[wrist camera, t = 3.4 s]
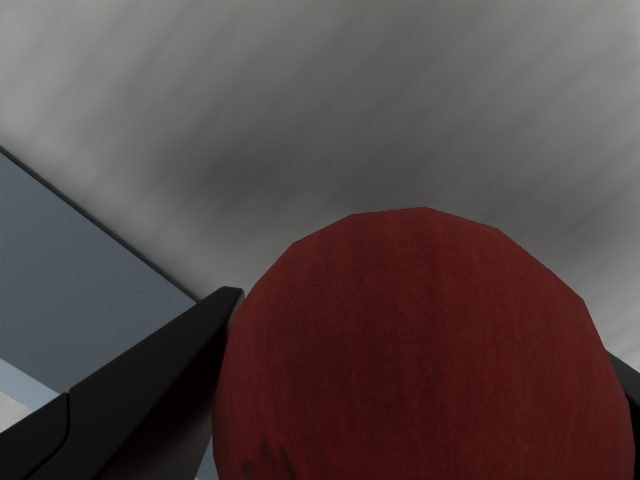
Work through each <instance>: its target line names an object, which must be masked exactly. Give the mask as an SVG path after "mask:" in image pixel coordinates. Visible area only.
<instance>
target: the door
mask: <svg viewBox="0 0 640 480" xmlns="http://www.w3.org/2000/svg"><path fill="white" fill-rule="evenodd" d="M195 304H197V303H196V302H195V301H194V300H192V299H191V298H190V297H188V296H187V295H186V294H184V293H183V292H182V291H181V290H179V289H178V288H177V287H175V286H174V285H173V284H171V283H170V282H169V281H167V280H166V279H165V278H164V277H162V276H161V275H160V274H158V273H157V272H156V271H154V270H153V269H152V268H150V267H149V266H148V265H147V264H145V263H144V262H143V261H141V260H140V259H139V258H137V257H136V256H135V255H133V254H132V253H131V252H129V251H128V250H127V249H126V248H124V247H123V246H122V245H120V244H119V243H118V242H116V241H115V240H114V239H112V238H111V237H110V236H109V235H107V234H106V233H105V232H103V231H102V230H101V229H99V228H98V227H97V226H95V225H94V224H93V223H92V222H90V221H89V220H88V219H86V218H85V217H84V216H82V215H81V214H80V213H78V212H77V211H76V210H75V209H73V208H72V207H71V206H69V205H68V204H67V203H65V202H64V201H63V200H61V199H60V198H59V197H58V196H56V195H55V194H54V193H52V192H51V191H50V190H48V189H47V188H46V187H44V186H43V185H42V184H41V183H39V182H38V181H37V180H35V179H34V178H33V177H31V176H30V175H29V174H27V173H26V172H25V171H24V170H22V169H21V168H20V167H18V166H17V165H16V164H14V163H13V162H12V161H10V160H9V159H8V158H7V157H5V156H4V155H3V154H1V153H0V391H1V392H2V393H4V394H6V395H7V396H9V397H11V398H13V399H14V400H16V401H18V402H19V403H21V404H23V405H25V406H26V407H28V408H30V409H31V410H33V411H36V410H37V409H39V408H41V407H42V406H44V405H45V404H47V403H48V402H50V401H51V400H53V399H54V398H56V397H57V396H59V395H60V394H62V393H63V392H67V393H68V390H69V389H70V388H71V387H72V386H74V385H75V384H77V383H78V382H80V381H81V380H83V379H84V378H86V377H87V376H89V375H90V374H92V373H93V372H95V371H96V370H98V369H99V368H101V367H102V366H104V365H105V364H107V363H108V362H110V361H111V360H113V359H114V358H116V357H117V356H119V355H120V354H122V353H123V352H125V351H126V350H128V349H129V348H131V347H132V346H134V345H135V344H137V343H138V342H140V341H141V340H143V339H144V338H146V337H147V336H149V335H150V334H152V333H153V332H155V331H156V330H158V329H159V328H161V327H162V326H164V325H165V324H167V323H168V322H170V321H171V320H173V319H174V318H176V317H177V316H179V315H180V314H182V313H183V312H185V311H186V310H188V309H189V308H191V307H192V306H194V305H195ZM195 480H219V477H218V473H217V469H216V466H215V462H214V458H213V444H212V436H211V439H210V442H209V444H208V447H207V449H206V452H205V454H204V457H203V459H202V462H201V465H200V467H199V470H198V472H197V475H196V477H195Z"/></svg>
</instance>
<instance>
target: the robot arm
mask: <svg viewBox="0 0 640 480" xmlns="http://www.w3.org/2000/svg"><path fill="white" fill-rule="evenodd" d="M244 300H245V293H244V290H243V289H241V288H235V287H228V286H223V287H221V288H219V289H217V290H216V291H214V292H213V293H212V294H210V295H209V296H207V297H206V298H204V299H203V300H201V301H200V302H198V303H197V304H195V305H194V306H192V307H191V308H189V309H188V310H186V311H185V312H183V313H182V314H180V315H179V316H177V317H176V318H174V319H173V320H171V321H170V322H168V323H167V324H165V325H164V326H162V327H161V328H159V329H158V330H156V331H155V332H153V333H152V334H150V335H149V336H147V337H146V338H144V339H143V340H141V341H140V342H138V343H137V344H135V345H134V346H132V347H131V348H129V349H128V350H126V351H125V352H123V353H122V354H120V355H119V356H117V357H116V358H114V359H113V360H111V361H110V362H108V363H107V364H105V365H104V366H102V367H101V368H99V369H98V370H96V371H95V372H93V373H92V374H90V375H89V376H87V377H86V378H84V379H83V380H81V381H80V382H78V383H77V384H75V385H74V386H72V387H71V388H70V389H69V390H68V393H67V392H63V393H62V394H60V395H59V396H57V397H56V398H54V399H53V400H51V401H50V402H48V403H47V404H45V405H44V406H42V407H41V408H39V409H37V410H36V411H34V412H33V413H31V414H30V415H28V416H27V417H25V418H23V419H22V420H20V421H19V422H17V423H16V424H14V425H12V426H11V427H9V428H8V429H6V430H5V431H3V432H1V433H0V480H195V477H196V475H197V472H198V470H199V467H200V465H201V462H202V459H203V457H204V454H205V452H206V449H207V447H208V444H209V442H210V439H211V436H212V416H211V411H212V406H213V402H214V397H215V393H216V388H217V383H218V379H219V374H220V370H221V366H222V361H223V357H224V353H225V349H226V345H227V341H228V337H229V333H230V329H231V325H232V321H233V317H234V315H235V313H236V312H237V310H238V309H239V307H240V306H241V304H242V303H243V301H244ZM606 353H607V355H608V357H609V359H610V362H611V364H612V366H613V369H614V371H615V373H616V375H617V378H618V380H619V382H620V385H621V387H622V389H623V391H624V394H625V396H626V398H627V400H628V403H629V409H630V416H631V423H632V430H633V437H634V444H635V463H634V476H633V480H640V373H639V372H637V371H636V370H635V369H633V368H632V367H630V366H629V365H627V364H626V363H624V362H623V361H621V360H620V359H618V358H617V357H615V356H614V355H612V354H611V353H610V352H608V351H607V350H606Z"/></svg>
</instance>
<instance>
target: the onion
mask: <svg viewBox="0 0 640 480" xmlns="http://www.w3.org/2000/svg"><path fill="white" fill-rule="evenodd" d="M211 416H212V444H213V458H214V462H215V466H216V469H217V473H218V477H219V480H633V476H634V463H635V444H634V437H633V430H632V423H631V416H630V409H629V403H628V400H627V398H626V396H625V394H624V391H623V389H622V387H621V385H620V382H619V380H618V378H617V375H616V373H615V371H614V369H613V366H612V364H611V362H610V359H609V357H608V355H607V353H606V350H605V348H604V346H603V344H602V341H601V339H600V337H599V334H598V332H597V330H596V328H595V325H594V323H593V321H592V319H591V316H590V314H589V312H588V309H587V307H586V305H585V303H584V300H583V299H582V298H581V297H580V296H579V295H577V294H576V293H575V292H574V291H573V290H572V289H571V288H570V287H568V286H567V285H566V284H565V283H564V282H563V281H562V280H561V279H559V278H558V277H557V276H556V275H555V274H554V273H553V272H552V271H550V270H549V269H548V268H547V267H545V266H544V265H543V264H542V263H540V262H539V261H538V260H537V259H535V258H534V257H533V256H532V255H530V254H529V253H528V252H527V251H525V250H524V249H523V248H521V247H520V246H519V245H518V244H516V243H515V242H514V241H513V240H511V239H510V238H509V237H508V236H506V235H505V234H504V233H503V232H501V231H500V230H499V229H497V228H494V227H491V226H487V225H484V224H481V223H477V222H474V221H471V220H467V219H464V218H461V217H457V216H454V215H451V214H448V213H444V212H441V211H438V210H434V209H431V208H428V207H418V208H408V209H399V210H390V211H380V212H371V213H362V214H352V215H349V216H347V217H345V218H343V219H341V220H339V221H337V222H335V223H333V224H331V225H329V226H327V227H325V228H323V229H321V230H319V231H317V232H315V233H313V234H311V235H309V236H307V237H304V238H302V239H300V240H298V241H296V242H294V243H293V244H292V245H291V246H290V247H289V248H288V249H287V250H286V251H285V252H284V253H283V254H282V256H281V257H280V258H279V259H278V260H277V261H276V262H275V263H274V264H273V265H272V266H271V268H270V269H269V270H268V271H267V272H266V273H265V274H264V275H263V276H262V277H261V278H260V279H259V281H258V282H257V283H256V284H255V285H254V287H253V288H252V290H251V291H250V293H249V294H248V295H247V297H246V298H245V300H244V301H243V303H242V304H241V306H240V307H239V309H238V310H237V312H236V313H235V315H234V317H233V321H232V325H231V329H230V333H229V337H228V341H227V345H226V349H225V353H224V357H223V361H222V366H221V370H220V374H219V379H218V383H217V388H216V393H215V397H214V402H213V406H212V411H211Z"/></svg>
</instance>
